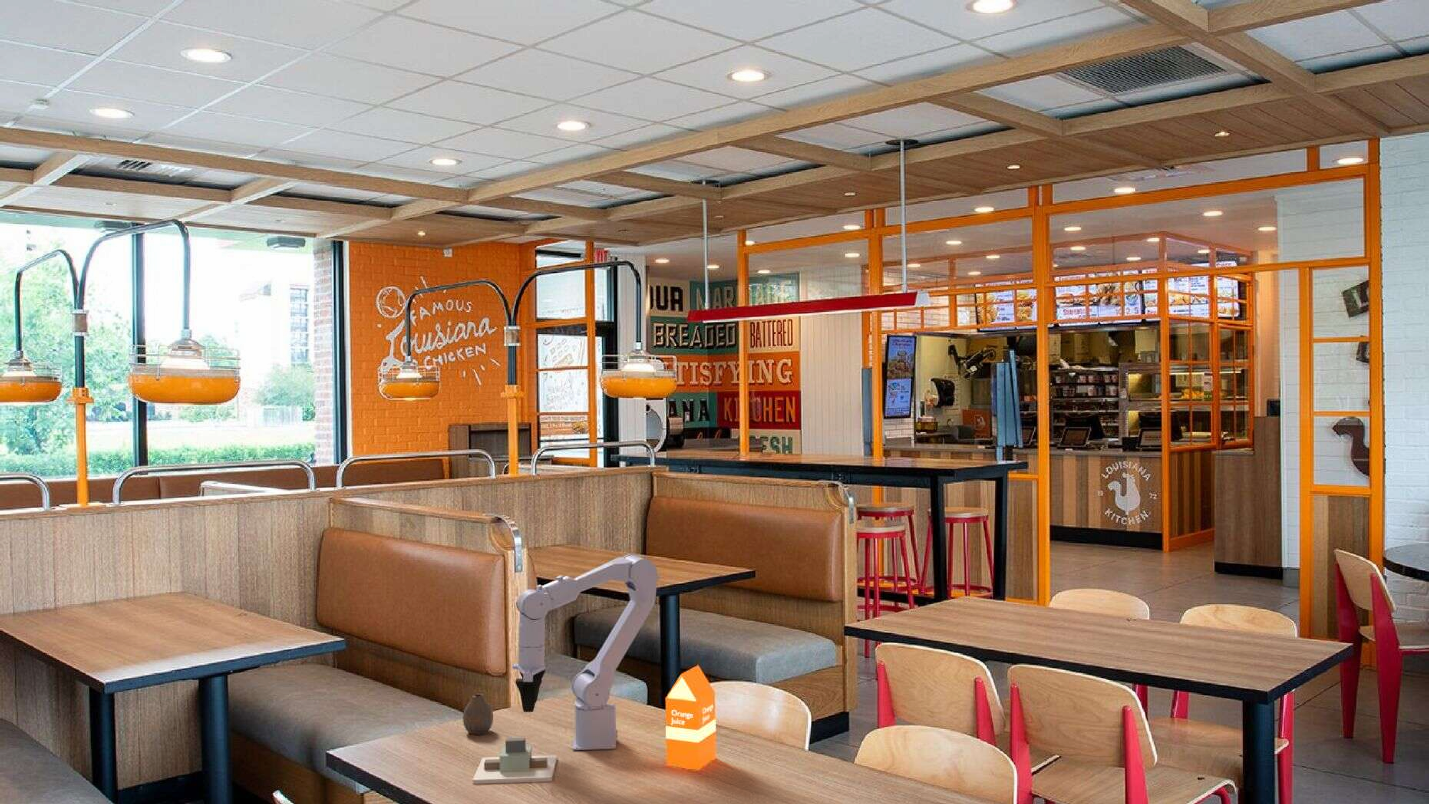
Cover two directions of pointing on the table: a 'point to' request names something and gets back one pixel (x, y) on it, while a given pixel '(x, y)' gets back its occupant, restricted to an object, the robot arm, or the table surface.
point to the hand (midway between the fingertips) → (530, 706)
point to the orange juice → (690, 721)
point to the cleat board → (538, 772)
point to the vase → (478, 715)
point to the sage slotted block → (515, 756)
